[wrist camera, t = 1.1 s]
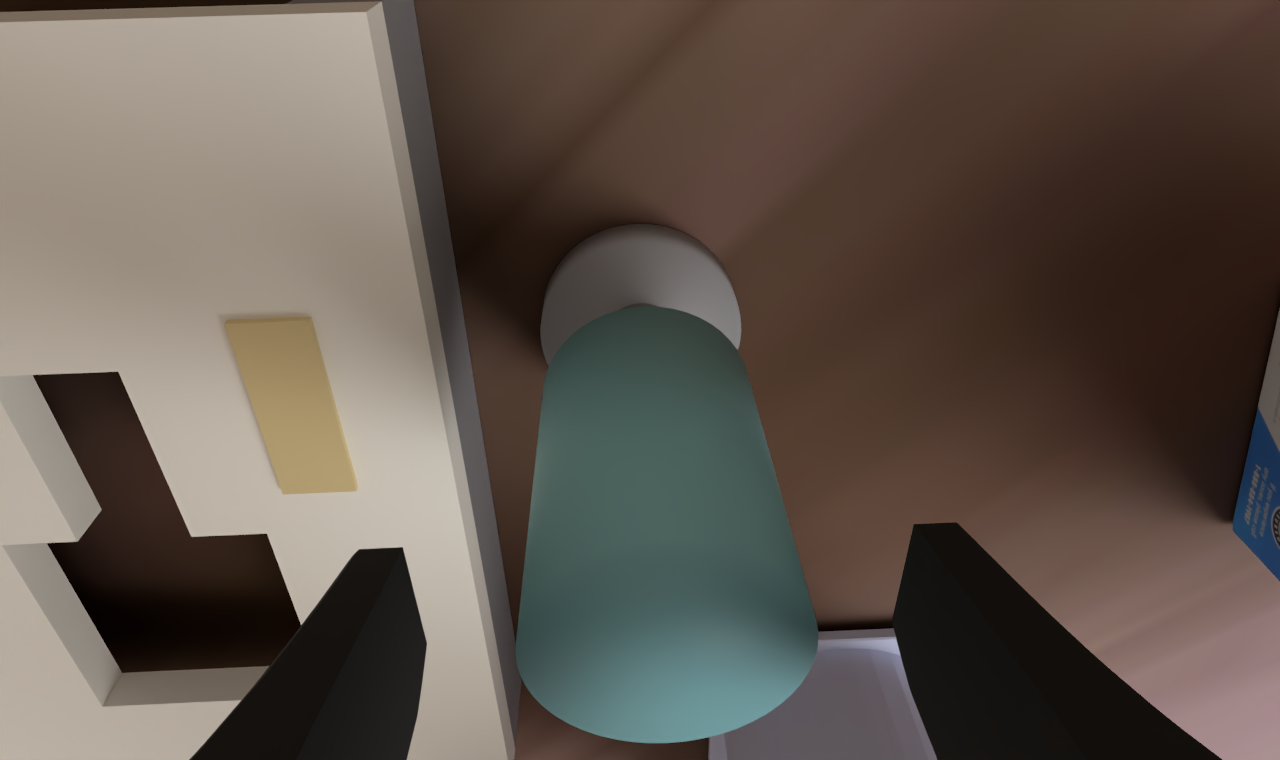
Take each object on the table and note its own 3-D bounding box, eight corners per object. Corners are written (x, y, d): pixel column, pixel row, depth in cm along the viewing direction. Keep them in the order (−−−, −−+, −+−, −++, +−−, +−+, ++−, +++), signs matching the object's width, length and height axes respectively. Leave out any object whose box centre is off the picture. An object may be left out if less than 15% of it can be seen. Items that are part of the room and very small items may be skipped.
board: (521, 681, 26) (511, 786, 23) (71, 702, 25) (4, 812, 22) (410, -19, 15) (363, 13, 12) (-386, 3, 14) (-635, 42, 11)
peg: (730, 389, 20) (816, 743, 12) (551, 396, 20) (517, 758, 12) (739, 220, 17) (853, 523, 10) (534, 227, 17) (479, 539, 9)
